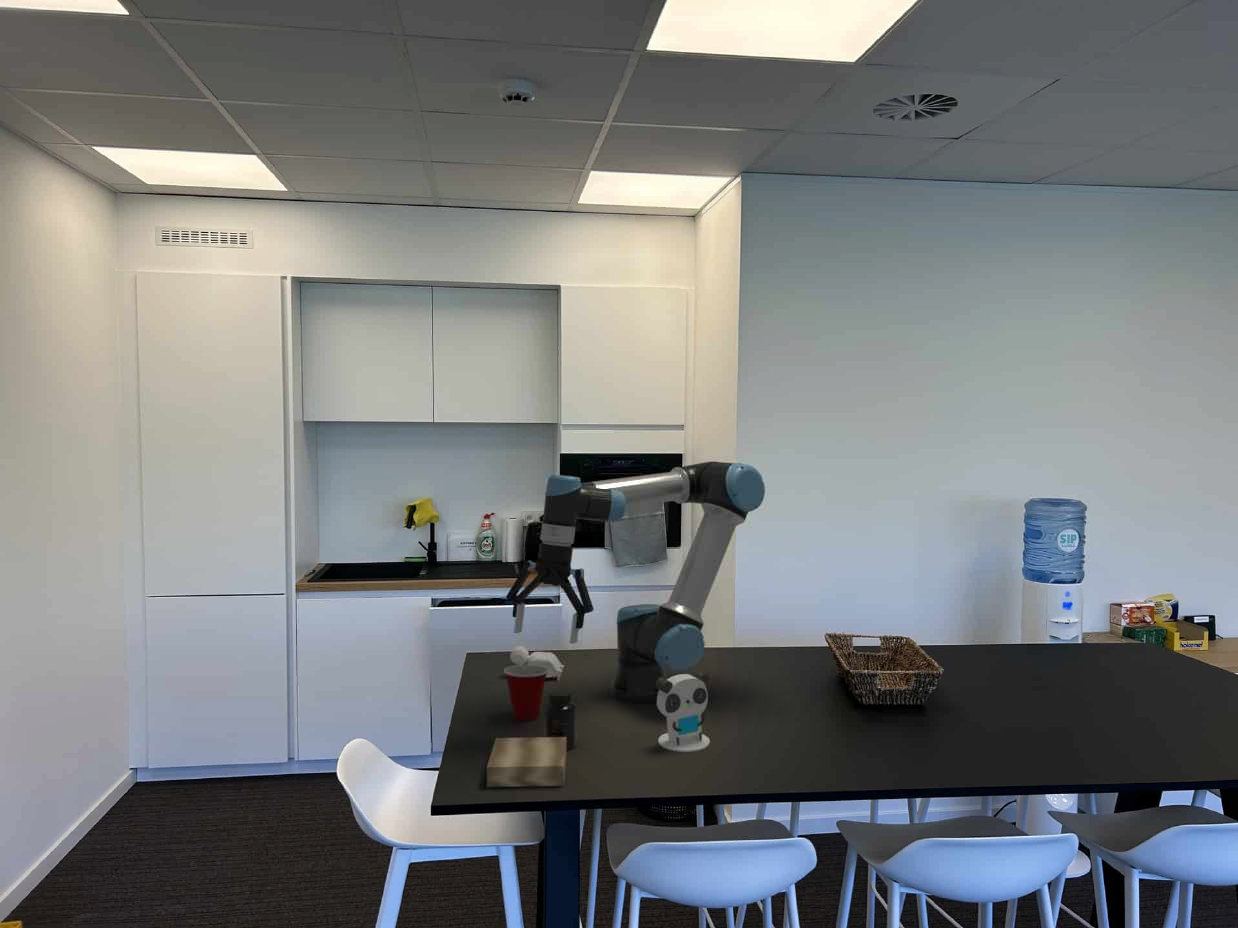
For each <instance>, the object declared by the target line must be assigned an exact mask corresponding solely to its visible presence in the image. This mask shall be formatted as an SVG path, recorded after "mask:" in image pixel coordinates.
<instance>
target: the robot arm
mask: <svg viewBox="0 0 1238 928" xmlns="http://www.w3.org/2000/svg"><path fill="white" fill-rule="evenodd" d="M545 488H546V489H545V493H544V495H545V497H544V498H545V499H544V506H543V517H542V524H541V532H540V540H541V541H542V542H541V543H540V544H539V547H538V548H539V549H538V555H537V562H534V561H533V560H526V561H524V563H523V566H522V570H521V572H520V573H519V575H518V577H517V579H516V580H515V581H514V583H513V585H512V586H511V588H510V590H509V591H508V593H507V595H506V599H508V600H510V601H511V602H513V603H512V604H513V606H512V607H513V608H512V618H514V619H515V620H514V629H513V634H520V633H522V632H523V626H524V625H523V624H524V615H525V606H526V603H523V602H524V601H525V599H526V598H527V597H529V595H530V594H532V592H534V591H535V589H536V588H538V586H540V585H541V584H543V585H551V586H553V587H557V586H560V588H561V589H562V590H563V592H564V594H565V595H566V597H567V598H568V600H569V601H570V603H571V605H572V608H574V610H575V613H573V615H572V621H571V629H570V637H569V639H570V640H569V644H571V645H572V644H573V645H574V644H576V643H578V638H579V630H581V629H583V627H584V624H585V623H584V621H585V614H589V613H592V612H593V611H594V607H593V603H592V600H591V597H590V594H589V591H588V587H587V584H586V581H585V570H584V569H583V568H572V566H571V565H572V559H573V558H572V557H573V551H574V548H573V546H572V545H573V544H574V542H575V534H576V524H577V521H578V520H588V521H589V520H590V521H598V522H599V521H600V522H606V523H611V522H612V523H613V522H619V521H620V520H622V518H623V517H624V516H625V513H626V508H632V507H638V506H647V505H654V504H660V503H667V502H675V503H676V504H689V503H690V504H700V506H701V508H702V511H703V516H702V518H701V521H700V524H699V525H698V528H697V530H696V533H695V535H694V538H693V540H692V543H691V545H690V548H689V550H688V553H687V555H686V558H685V559H684V563H683V565H682V567H681V570H680V572H679V575H678V576H677V577H678V578H677V580H676V581H675V584H674V587H673V589H672V591H671V594H670V597H669V599H668V601H666V602H664V603H662V604H654V603H649V604H648V603H646V604H643V603H642V604H633V605H627V606H623V607H621V608H620V609H618V611H617V615H616V616H617V618H616V628H617V629H616V631H617V632H616V633H617V635H616V636H617V640H616V641H617V642H616V643H617V665H616V668H615V671H614V675H613V677H612V681H611V685H610V694H611V696H612V697H613V698H615V699H616V700H619V701H622V702H627V703H634V704H636V703H637V704H640V703H641V704H643V703H644V704H645V703H653V702H657V696H658V693H659V689H657V688H656V686H655V684H656V681H657V679H658V678H660V677H662V678H664V679H666V680H667V679H668V678H667V674H666V671H665V669H666V670H671V671H673V672H683V671H686V670H688V669H690V668H692V667H693V666H695V665H696V663H698V661H700V659H701V658H702V655H703V653H704V651H705V650H704V649H705V644H706V642H705V640H704V638H705V637H704V634H703V632H702V629H703V627H704V624H705V622H704V620H703V619H702V613H703V610H704V608H705V605H706V603H707V600H708V598H709V595H710V592H711V590H712V588H713V585H714V583H715V580H716V577H717V575H718V573H719V570H720V567H721V564H722V563H723V561H724V557H725V556H726V555H725V554H726V553H727V549H728V547H729V545H730V542H731V540H732V537H733V535H734V532H735V530H736V527H737V526H739V525H742V524H744V523H745V522H746V518H747V516H748V513H751V512H753V511H755V510H756V509H759V507H760V506H761V504H763V501H764V498H765V494H766V487H765V482H764V480H763V476H762V474H761V473H760V472H759V470H758V469H757V468H755V467H754V466H752V465H750V464H743V463H742V462H726V461H725V462H721V461H705V462H699V463H695V464H690V465H684V466H676V467H673V468H672V469H671V471H669V472H662V473H661V472H659V473H651V474H644V475H636V476H629V477H620V478H611V479H605V480H597V481H589V482H581V478H580V477H579V476H578V477H577V476H571V475H561V474H551V475H550V476H549V477H548V479H547V484H546V487H545ZM577 519H578V520H577ZM534 570H535V571H536V573H537V575H536V576H535V577H534V578H533V579H532V581H531V582H530V583H529V584H528V585H527V586H525V587H524V589H522V587H523V586H524V584H525V583H526V581H527V579H528V578H529V576H530V574H531V572H533V571H534ZM571 575H572V577H573V579H574V581H575V584H576V587H577V591H578V593H579V597H580V599H579V597H578V595H577V593H576V592H575V590H574V588H573V586H572V583H571V582H570V579H569V577H570V576H571ZM521 589H522V591H521ZM519 592H520V593H519Z"/></svg>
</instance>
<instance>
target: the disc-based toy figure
mask: <svg viewBox="0 0 1238 928" xmlns="http://www.w3.org/2000/svg"><path fill="white" fill-rule="evenodd" d="M708 682H709V676H708V675H707V674H706V673H703V672H701V671H699V670H695V671H693V673H692V674H688V673H681V674H676V675H673V676H671V677H668V678H667V680H666V679H664V678H662V677H660V678H658V679H657V681H656V684H655V686H656V688H657V689H659V693H658V696H657V701H656V707H657V708H658V710H659V712H660V714H662V715H663V716H665V717H666V726H667V733H663V734H661V735H660V736H659V737H658V745H659V746H660V747H662V748H663V749H666V750H668V751H673V752H681V753H691V752H699V751H701V750H703V749H706V748H707V747H709V746H710V744H711V743H710V742H711V741H710V738H709V737H708V736H707V735H705V734H703V733H702V725H703V724H704V722H705V719H706V718H705V714H704V712H705V709H706V708H707V705H708V701H709V694H708V689H707V687H706V683H708Z"/></svg>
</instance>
